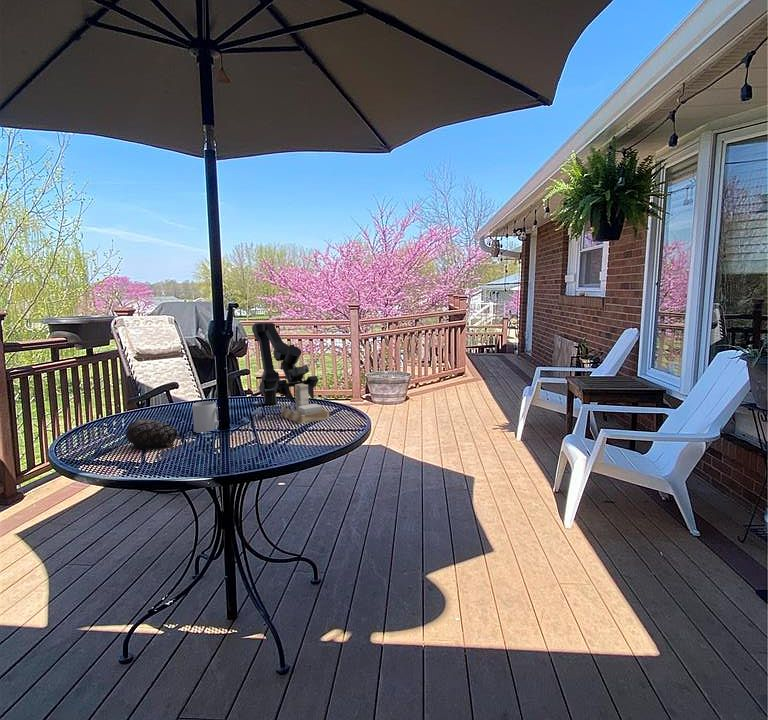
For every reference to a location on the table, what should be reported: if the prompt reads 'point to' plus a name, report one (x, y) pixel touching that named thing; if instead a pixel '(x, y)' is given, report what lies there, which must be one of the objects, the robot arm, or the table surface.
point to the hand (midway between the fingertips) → (303, 400)
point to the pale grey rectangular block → (301, 395)
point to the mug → (205, 416)
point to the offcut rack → (304, 418)
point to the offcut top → (309, 409)
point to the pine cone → (151, 434)
